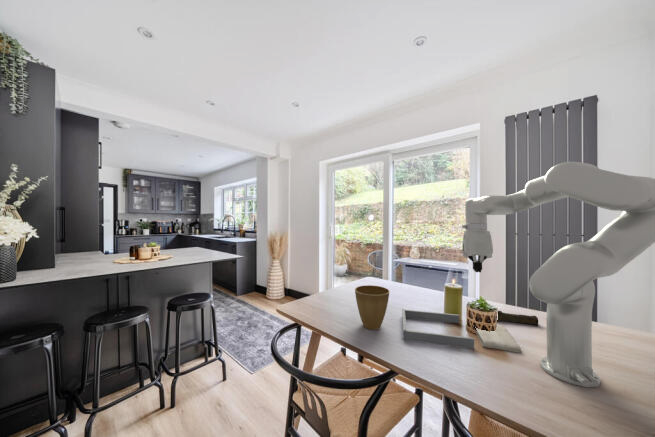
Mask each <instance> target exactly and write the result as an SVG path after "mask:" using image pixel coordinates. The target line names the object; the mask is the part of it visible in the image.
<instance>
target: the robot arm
mask: <svg viewBox="0 0 655 437" xmlns="http://www.w3.org/2000/svg"><path fill="white" fill-rule="evenodd" d="M567 198H571V199H575V200H578V201H581V202H583V203H586V204H589V205H592V206H595V207H598V208H601V209H604V210H609V211H613V212H614V211H615V212H621V214H620V215H618V216H617V217H616V218H614V219H613V220H611V221H610V222H608V223H607V224H606V225H605V226H604V227H603V228H602V229H601V230H600V231H599V232H597V233H596V234H595V235H594V236H592V237H591V238H590V239H588V240H587V241H583V242H574V243H570V244H567V245H565V246H563V247H561V248H560V249H559V250H557V251H556V252H554V254H552V255H551V256H550V257H549V258H548V259H547V260H546V261H545V262H544V263H543V264H542V265H541V266H540V267H539V268H538V269H536V270H535V271H534V272H533V274H532V275H531V277H530V278H529V283H528V286H529V290H530V292H531V294H532V295H533V296H534V297H535V298H536V299H537V300H538V301H541V302H542V303H546V304H547V305H546V357H542V358H541V359H540V366H541V368H542V369H543V370H544V371H545V372H546V373H548V374H549V375H550V376H553V377H554V378H557V379H559V380H561V381H564V382H566V383H568V384H571V385H575V386H579V387H584V388H585V387H586V388H596V387H599V386H600V385H601V377H599V375H598V374H597V373H596V372H594V369H593V361H592V360H593V356H592V355H593V354H592V353H593V352H592V350H593V347H592V346H593V345H592V344H593V343H592V336H593V335H592V326H593V325H592V324H593V322H592V321H593V306H594V300H595V297H596V286H595V283H594V280H596V279H600V278H605V277H610V276H612V275H615V274H617V273H618V272H620V271H621V270H622V269H623V268H624V267H625V266H626V265H628V264H629V263H631V262H632V261H633V260H634V259H636V258H637V257H639V256H640V255H641V254H642V253H643V252H645V251H646V250H647V249H649V247H651V246H652V245H653V244H655V178H652V177H649V176H648V177H647V176H640V175H639V176H636V175H628V174H624V173H619V172H614V171H609V170H605V169H600V168H599V167H598V166H596V165H594V164H591V163H587V162H578V161H564V162H559V163H558V164H555V165H554V166H552V167H550V169H549V170H548V171H547V172H546V174H545V175H542V176H540V177H537V178H534V179H532V180H528V181H527V182H526V184H525V186H524V189H522V190H519V191H518V192H514V193H512V194H511V193H510V194H508V195H483V196H481V197H470V198H468V199H466V200H465V203H464V204H465V205H464V206H465V207H464V208H465V224H463V225H461V228H462V229H464V231H463V236H462V257H463V258H466V259H469V260H470V261H471V262H472V270H473V271H474V272H475V273H482V271H483V263H484V261H485V260H487V259H491V258H493V253H494V249H493V248H494V247H493V245H494V244H493V241H492V235H491V231H490V230H488V216H502V215H503V216H505V215H512V214H516V213H520V212H523V211H524V212H525V211H527V210H530V209H532V208H535V207H539V206H540V205H544V204H547V203H548V204H549V203H551V202H554V201H558V200H562V199H567Z"/></svg>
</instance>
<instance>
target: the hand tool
mask: <svg viewBox="0 0 655 437" xmlns="http://www.w3.org/2000/svg"><path fill="white" fill-rule="evenodd" d="M497 311H498V321H497V322H503V321H504V322H513V323H518V324H519V323H520V324H528V325H535V326H536V327H538V326H539V318H538V316H536V315H528V314H515V313H509V312H508V313H507V312H503V311H502V310H497Z"/></svg>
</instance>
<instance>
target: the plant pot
mask: <svg viewBox="0 0 655 437" xmlns="http://www.w3.org/2000/svg"><path fill="white" fill-rule="evenodd" d="M354 293H355V299H356V300H355V301H356V305H357V310H358V313H359V317H360V320H361V324H362V326H363V327H364V328H365V329H367V330H371V331H372V330H373V331H375V330H379V329H380V328H381V327H382V324H383V322H384V319H385V315H386V312H387V308H388V303H389V297H390V290H389V288H386V287H384V286H379V285H372V284H371V285H370V284H368V285H360V286H359V285H358V286H356V287H355V288H354Z"/></svg>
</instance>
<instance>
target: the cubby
mask: <svg viewBox="0 0 655 437" xmlns="http://www.w3.org/2000/svg"><path fill="white" fill-rule="evenodd" d="M401 315H402V317H401V318H402V321H401V322H402V336H403V337H402V339H403V340H404V341H411V342H416V343H425V344H433V345H434V344H435V345H440V346H447V347H448V346H449V347H456V348H463V349H471V350H474V349H475V338H474V337H469V336H461V335H460V336H459V335H452V334H451V335H450V334H444V333H433V332H429V331H428V332H427V331H426V332H425V331H418V330H409V329H407V319H413V320H422V321H424V320H425V321H432V322H442V323H443V322H444V323H452V324H460V315H459V314H454V313H443V312H442V313H441V312H435V311H434V312H433V311H426V310H425V311H424V310H414V309H412V310H411V309H402V310H401Z"/></svg>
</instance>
